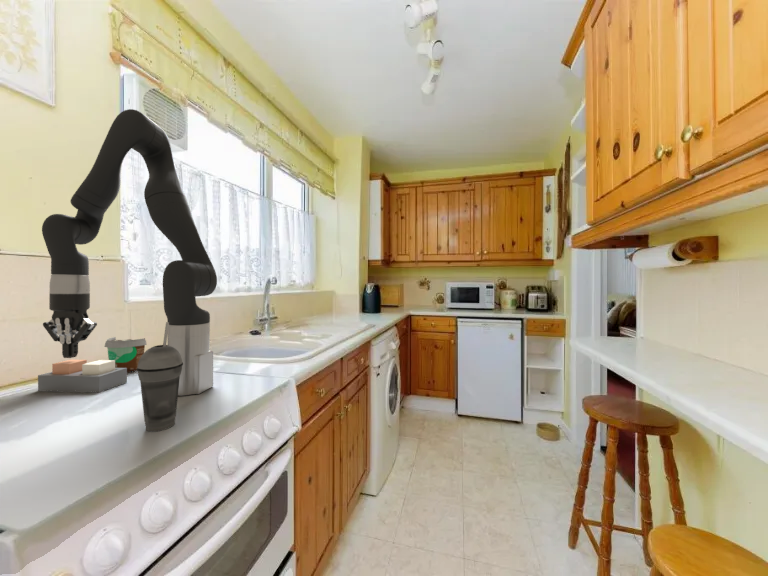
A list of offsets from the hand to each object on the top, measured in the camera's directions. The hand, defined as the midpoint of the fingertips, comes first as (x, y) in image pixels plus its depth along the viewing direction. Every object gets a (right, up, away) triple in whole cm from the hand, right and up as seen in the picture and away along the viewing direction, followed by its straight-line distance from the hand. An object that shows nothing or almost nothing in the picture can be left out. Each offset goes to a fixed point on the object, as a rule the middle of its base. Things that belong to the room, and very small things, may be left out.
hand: (70, 357), depth 82 cm
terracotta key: (0, -5, 0) cm, 5 cm away
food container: (+1, -8, +14) cm, 16 cm away
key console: (+4, -8, 0) cm, 9 cm away
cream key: (+8, -5, 0) cm, 9 cm away
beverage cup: (+40, -8, -23) cm, 47 cm away
